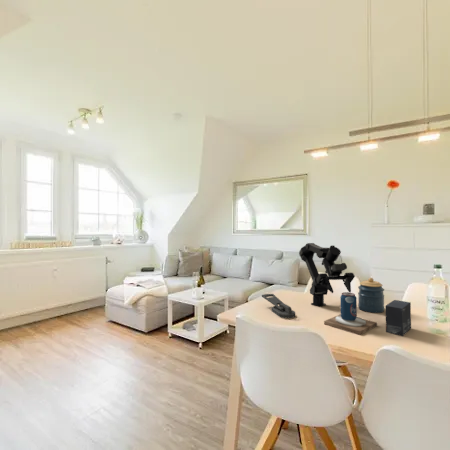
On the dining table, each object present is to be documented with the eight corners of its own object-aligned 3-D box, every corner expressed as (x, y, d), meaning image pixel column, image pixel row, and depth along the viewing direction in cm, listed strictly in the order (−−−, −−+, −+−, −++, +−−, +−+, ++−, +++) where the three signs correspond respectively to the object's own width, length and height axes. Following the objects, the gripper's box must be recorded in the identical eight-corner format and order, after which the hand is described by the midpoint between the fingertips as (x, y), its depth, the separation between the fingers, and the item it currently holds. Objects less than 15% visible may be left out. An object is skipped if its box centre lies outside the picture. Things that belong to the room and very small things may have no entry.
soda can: (355, 322, 126) (354, 296, 126) (338, 319, 130) (338, 294, 130) (357, 318, 132) (357, 293, 132) (342, 315, 136) (342, 291, 136)
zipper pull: (273, 293, 166) (298, 304, 143) (273, 304, 166) (298, 317, 143) (259, 294, 163) (282, 306, 140) (260, 305, 163) (283, 319, 140)
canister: (363, 304, 164) (362, 274, 164) (387, 309, 154) (387, 277, 154) (354, 309, 154) (354, 277, 154) (380, 314, 145) (379, 281, 145)
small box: (394, 324, 131) (394, 299, 131) (411, 328, 126) (411, 302, 126) (385, 332, 122) (385, 305, 122) (403, 336, 117) (402, 308, 117)
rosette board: (342, 316, 143) (342, 311, 143) (377, 325, 130) (376, 319, 130) (324, 324, 132) (324, 318, 132) (360, 335, 119) (360, 328, 119)
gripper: (318, 257, 143) (329, 283, 132) (352, 257, 145) (366, 282, 134) (312, 270, 151) (321, 296, 140) (344, 269, 153) (356, 294, 142)
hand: (341, 292), depth 139 cm, fingers open, 9 cm apart
